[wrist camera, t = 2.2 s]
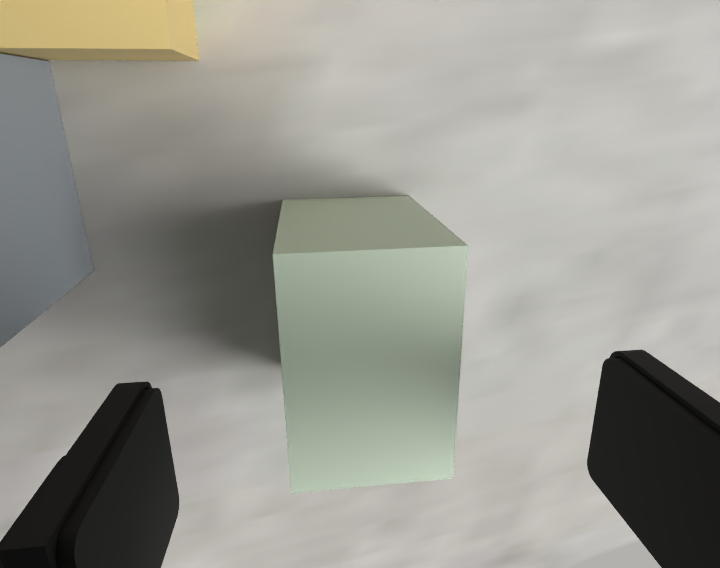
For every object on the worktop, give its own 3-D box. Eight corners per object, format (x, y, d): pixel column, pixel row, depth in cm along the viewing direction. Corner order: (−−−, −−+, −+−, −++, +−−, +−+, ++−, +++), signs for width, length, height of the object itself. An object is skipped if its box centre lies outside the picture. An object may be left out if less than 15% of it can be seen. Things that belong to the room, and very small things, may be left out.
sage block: (282, 199, 15) (272, 254, 10) (408, 195, 16) (468, 245, 10) (294, 368, 17) (291, 493, 12) (405, 360, 18) (453, 478, 12)
